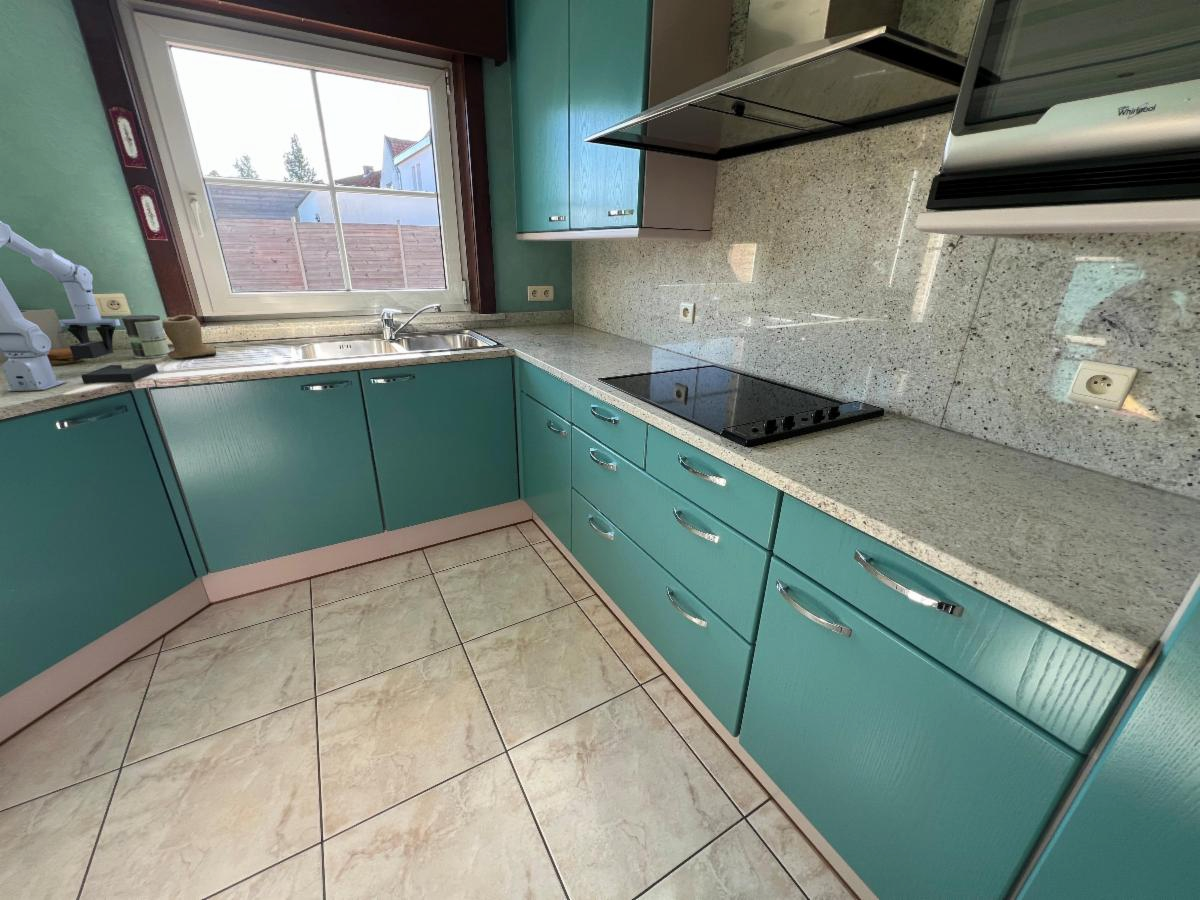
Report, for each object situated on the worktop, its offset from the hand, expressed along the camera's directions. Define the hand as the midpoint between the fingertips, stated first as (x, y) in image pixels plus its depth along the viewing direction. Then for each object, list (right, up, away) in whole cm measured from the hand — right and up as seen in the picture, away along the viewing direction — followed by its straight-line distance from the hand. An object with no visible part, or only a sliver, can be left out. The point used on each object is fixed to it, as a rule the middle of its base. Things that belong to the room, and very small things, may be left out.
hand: (99, 348), depth 158 cm
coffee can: (-3, +2, +23) cm, 23 cm away
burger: (-21, -3, +9) cm, 23 cm away
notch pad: (+14, -10, -6) cm, 18 cm away
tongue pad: (+1, -3, -2) cm, 4 cm away
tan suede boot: (+12, +2, +23) cm, 26 cm away
